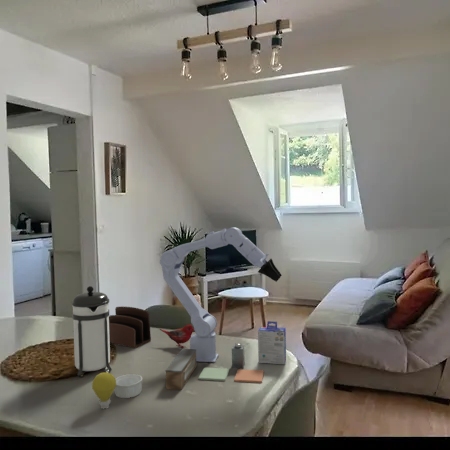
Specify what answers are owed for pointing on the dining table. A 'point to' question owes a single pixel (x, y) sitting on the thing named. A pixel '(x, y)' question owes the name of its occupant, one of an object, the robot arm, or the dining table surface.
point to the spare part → (238, 356)
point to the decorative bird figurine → (180, 334)
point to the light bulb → (104, 388)
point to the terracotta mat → (249, 376)
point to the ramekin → (128, 385)
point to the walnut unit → (180, 369)
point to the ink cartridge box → (272, 344)
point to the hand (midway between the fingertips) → (279, 278)
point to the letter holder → (129, 327)
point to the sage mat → (214, 374)
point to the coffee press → (91, 331)
